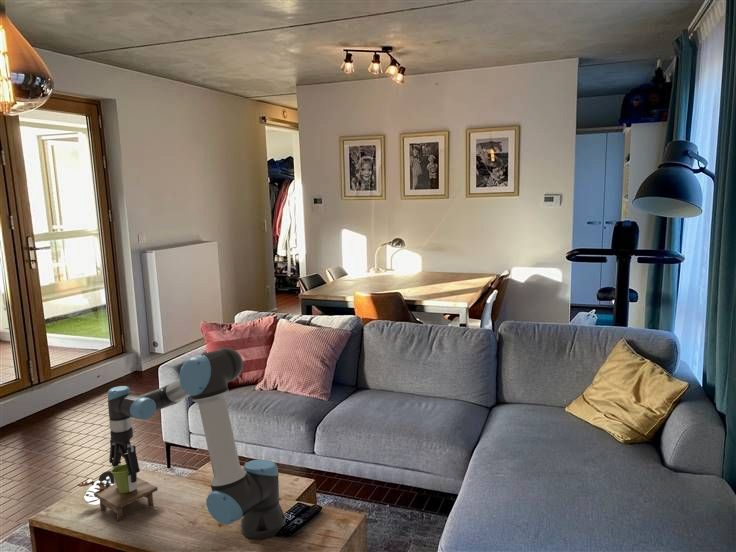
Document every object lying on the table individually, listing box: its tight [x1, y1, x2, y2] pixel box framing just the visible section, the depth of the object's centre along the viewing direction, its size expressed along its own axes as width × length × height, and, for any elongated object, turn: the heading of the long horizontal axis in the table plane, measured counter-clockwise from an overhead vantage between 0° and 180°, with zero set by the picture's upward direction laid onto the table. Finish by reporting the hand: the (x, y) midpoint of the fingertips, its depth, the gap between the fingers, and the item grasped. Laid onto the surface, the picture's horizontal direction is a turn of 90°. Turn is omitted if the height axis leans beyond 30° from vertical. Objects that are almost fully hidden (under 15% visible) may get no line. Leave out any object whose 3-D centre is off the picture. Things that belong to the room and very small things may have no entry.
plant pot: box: [110, 463, 138, 494], centre depth 199 cm, size 9×9×9 cm
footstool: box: [94, 476, 158, 522], centre depth 200 cm, size 16×16×7 cm
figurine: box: [77, 470, 115, 506], centre depth 208 cm, size 14×10×18 cm
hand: (125, 486), depth 200 cm, fingers open, 10 cm apart
